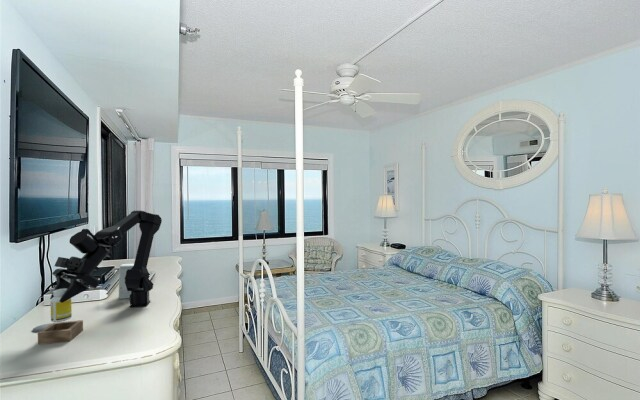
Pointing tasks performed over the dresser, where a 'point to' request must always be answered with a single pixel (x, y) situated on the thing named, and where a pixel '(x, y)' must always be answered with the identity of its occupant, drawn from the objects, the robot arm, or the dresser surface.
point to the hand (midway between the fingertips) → (55, 300)
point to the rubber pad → (41, 327)
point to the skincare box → (123, 281)
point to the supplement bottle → (60, 307)
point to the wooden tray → (60, 332)
